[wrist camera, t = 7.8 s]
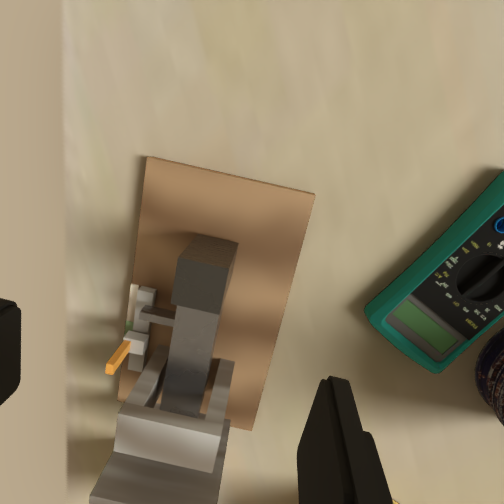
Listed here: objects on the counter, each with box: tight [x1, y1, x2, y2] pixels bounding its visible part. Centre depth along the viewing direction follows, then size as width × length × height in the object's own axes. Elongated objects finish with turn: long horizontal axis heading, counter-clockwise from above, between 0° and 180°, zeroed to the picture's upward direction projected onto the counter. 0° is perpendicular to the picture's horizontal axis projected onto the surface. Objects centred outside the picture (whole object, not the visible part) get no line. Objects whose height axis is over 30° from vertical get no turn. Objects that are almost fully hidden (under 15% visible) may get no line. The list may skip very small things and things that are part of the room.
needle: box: [105, 331, 149, 375], centre depth 26 cm, size 1×2×4 cm
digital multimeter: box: [364, 171, 504, 374], centre depth 26 cm, size 7×15×3 cm, turn 141°
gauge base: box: [89, 157, 316, 504], centre depth 24 cm, size 21×12×10 cm, turn 168°
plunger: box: [139, 234, 239, 419], centre depth 25 cm, size 13×6×6 cm, turn 168°
